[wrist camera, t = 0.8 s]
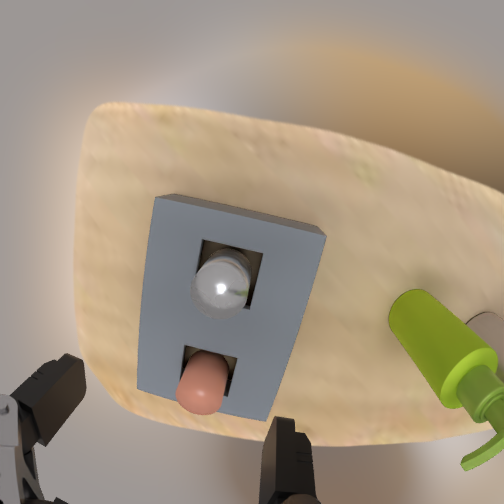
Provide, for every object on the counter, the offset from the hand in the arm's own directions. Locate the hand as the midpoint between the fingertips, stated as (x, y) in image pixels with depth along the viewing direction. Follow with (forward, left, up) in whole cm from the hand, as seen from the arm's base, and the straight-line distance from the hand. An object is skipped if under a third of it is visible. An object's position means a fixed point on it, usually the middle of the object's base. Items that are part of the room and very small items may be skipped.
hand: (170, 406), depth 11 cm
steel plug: (0, -1, -16) cm, 16 cm away
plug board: (0, +4, -20) cm, 20 cm away
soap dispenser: (-20, +1, -20) cm, 29 cm away
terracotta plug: (0, +9, -16) cm, 19 cm away
